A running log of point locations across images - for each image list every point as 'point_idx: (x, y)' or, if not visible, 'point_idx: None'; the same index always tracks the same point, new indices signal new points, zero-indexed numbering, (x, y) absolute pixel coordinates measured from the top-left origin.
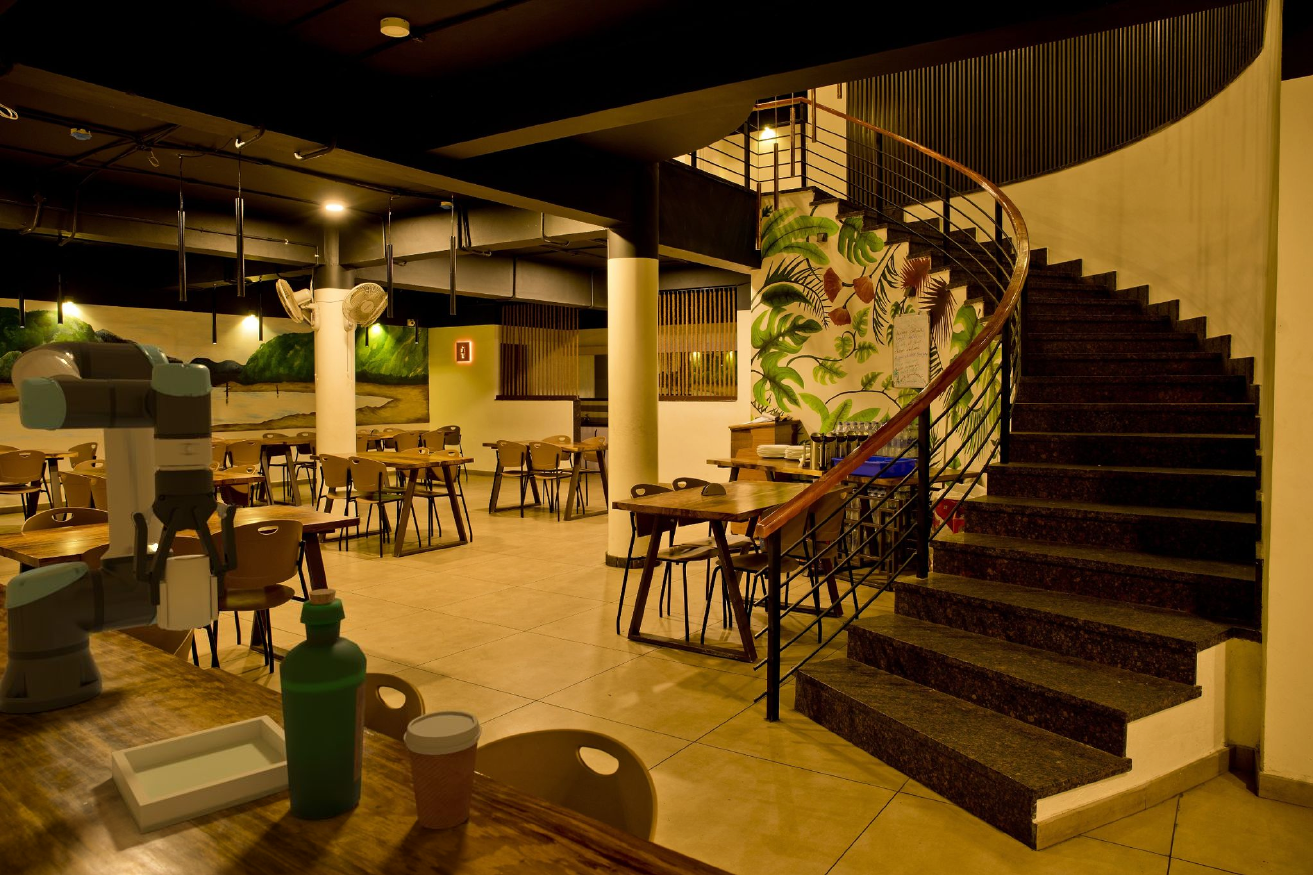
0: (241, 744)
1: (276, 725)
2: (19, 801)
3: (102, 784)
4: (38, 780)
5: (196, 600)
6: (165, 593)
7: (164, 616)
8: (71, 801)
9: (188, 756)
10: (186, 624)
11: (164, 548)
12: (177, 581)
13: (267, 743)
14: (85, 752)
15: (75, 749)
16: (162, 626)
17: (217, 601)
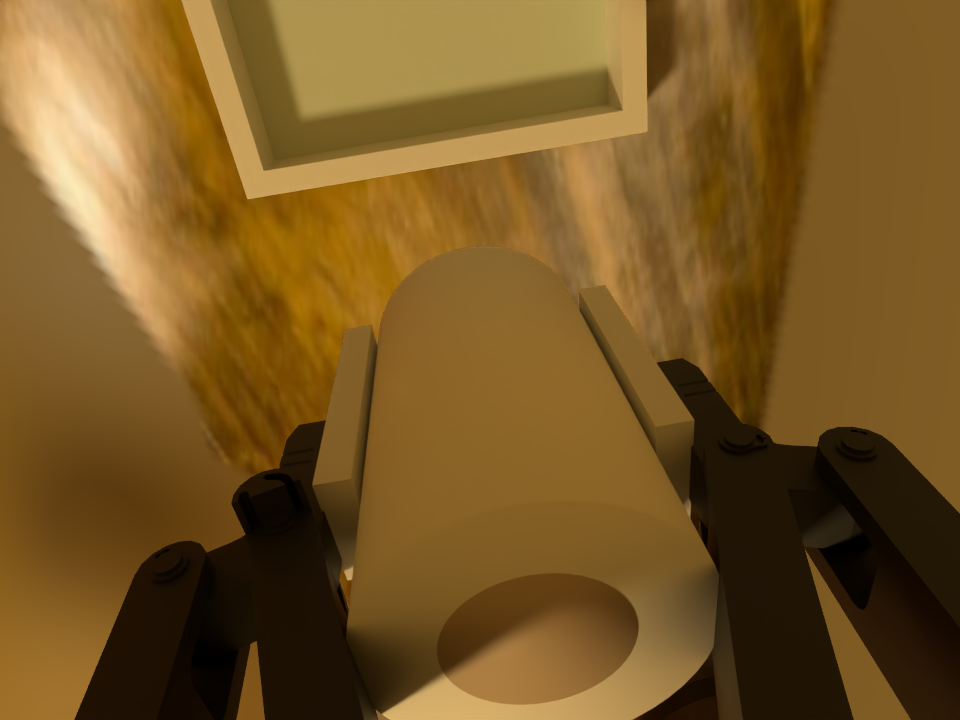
0: (327, 125)
1: (214, 82)
2: (807, 90)
3: (650, 85)
4: (755, 200)
5: (454, 316)
6: (638, 386)
7: (606, 314)
8: (721, 11)
9: (460, 118)
10: (498, 254)
11: (804, 682)
12: (593, 397)
13: (256, 89)
14: (655, 316)
15: (669, 344)
16: (603, 289)
17: (334, 383)
